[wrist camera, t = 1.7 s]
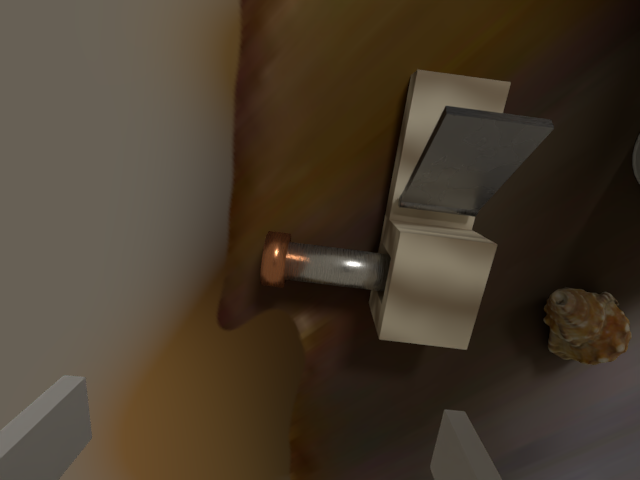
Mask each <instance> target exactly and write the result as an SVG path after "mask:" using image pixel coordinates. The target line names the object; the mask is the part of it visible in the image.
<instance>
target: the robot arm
mask: <svg viewBox="0 0 640 480" xmlns="http://www.w3.org/2000/svg"><path fill="white" fill-rule="evenodd" d="M91 438H92V433H91V424H90V415H89V406H88V397H87V388H86V379H85V377H77V376H66V375H64V376H62V377H61V378H60V379H59V380H58V381H57V382H56V383H54V384H53V385H52V386H51V387H50V388H49V389H48V390H46V391H45V392H44V393H43V394H42V395H41V396H39V397H38V398H37V399H36V400H35V401H34V402H33V403H31V404H30V405H29V406H28V407H27V408H26V409H25V410H23V411H22V412H21V413H20V414H19V415H18V416H16V417H15V418H14V419H13V420H12V421H11V422H10V423H8V424H7V425H6V426H5V427H4V428H3V429H2V430H0V480H59V479H60V477H61V476H62V475H63V474H64V472H65V471H66V470H67V469H68V467H69V466H70V465H71V464H72V462H73V461H74V460H75V458H76V457H77V456H78V455H79V454H80V452H81V451H82V450H83V449H84V447H85V446H86V445H87V444H88V442H89V441H90V440H91ZM430 469H431V472H432V475H433V477H434V480H502V478H501V477H500V475H499V473H498V471H497V469H496V467H495V466H494V464H493V462H492V460H491V458H490V456H489V455H488V453H487V451H486V449H485V447H484V446H483V444H482V442H481V440H480V438H479V436H478V435H477V433H476V431H475V429H474V427H473V425H472V424H471V422H470V420H469V418H468V416H467V414H466V413H465V411H455V410H444V413H443V417H442V421H441V425H440V429H439V433H438V437H437V441H436V445H435V449H434V453H433V457H432V461H431V465H430Z"/></svg>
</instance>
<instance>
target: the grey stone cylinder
mask: <svg viewBox="0 0 640 480" xmlns="http://www.w3.org/2000/svg"><path fill="white" fill-rule="evenodd" d="M632 167H633V171H634V176H635V177H636V179H637V181H638V183H639V184H640V134H639V136H638V138H637V140H636V142H635V146H634V150H633V154H632Z"/></svg>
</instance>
